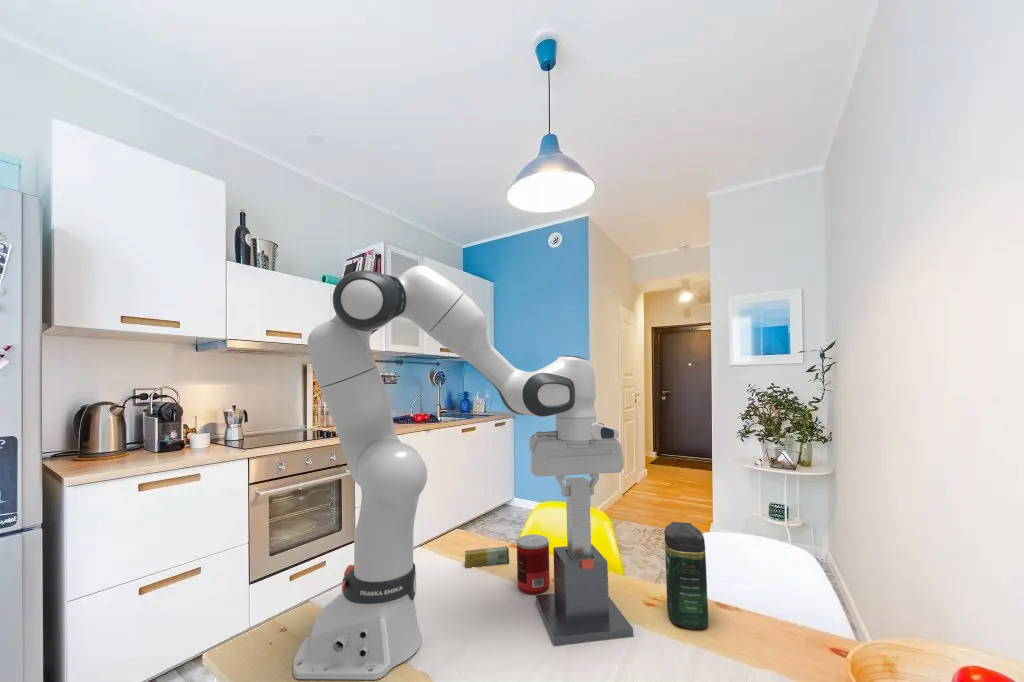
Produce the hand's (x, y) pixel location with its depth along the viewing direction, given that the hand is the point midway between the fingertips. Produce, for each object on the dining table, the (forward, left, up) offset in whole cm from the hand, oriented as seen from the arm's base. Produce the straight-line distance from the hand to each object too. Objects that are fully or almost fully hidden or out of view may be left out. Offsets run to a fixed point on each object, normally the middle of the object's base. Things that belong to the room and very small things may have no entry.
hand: (577, 495), depth 92 cm
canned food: (-7, +15, -26) cm, 30 cm away
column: (0, 0, -19) cm, 19 cm away
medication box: (-17, +30, -26) cm, 43 cm away
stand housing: (0, 0, -25) cm, 25 cm away
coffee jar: (+22, -4, -26) cm, 34 cm away
